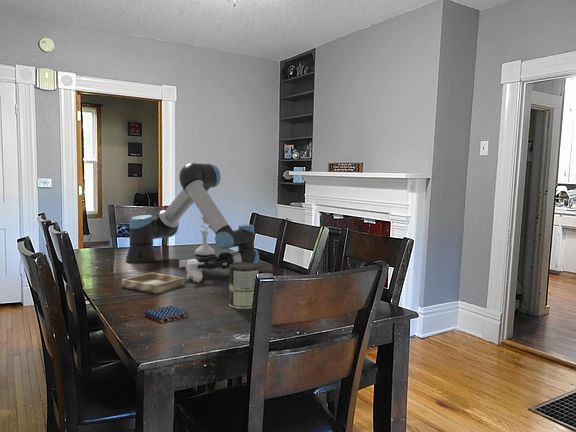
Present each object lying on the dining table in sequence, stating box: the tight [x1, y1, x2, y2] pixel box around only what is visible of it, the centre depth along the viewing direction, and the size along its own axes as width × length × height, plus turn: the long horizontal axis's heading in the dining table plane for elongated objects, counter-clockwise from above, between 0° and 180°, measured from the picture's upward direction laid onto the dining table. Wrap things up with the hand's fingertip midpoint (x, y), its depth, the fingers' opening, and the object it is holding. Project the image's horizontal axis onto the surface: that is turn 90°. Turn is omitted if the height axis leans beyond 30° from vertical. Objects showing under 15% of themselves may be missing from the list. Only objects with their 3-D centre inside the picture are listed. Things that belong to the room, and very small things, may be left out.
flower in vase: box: [194, 215, 216, 257], centre depth 246 cm, size 13×11×25 cm
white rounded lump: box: [185, 258, 204, 283], centre depth 186 cm, size 6×8×12 cm
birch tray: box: [121, 272, 185, 294], centre depth 174 cm, size 18×16×3 cm
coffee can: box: [228, 262, 260, 310], centre depth 151 cm, size 10×10×14 cm
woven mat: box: [143, 305, 189, 324], centre depth 137 cm, size 10×11×2 cm
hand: (184, 265), depth 184 cm, fingers closed on white rounded lump, 8 cm apart
